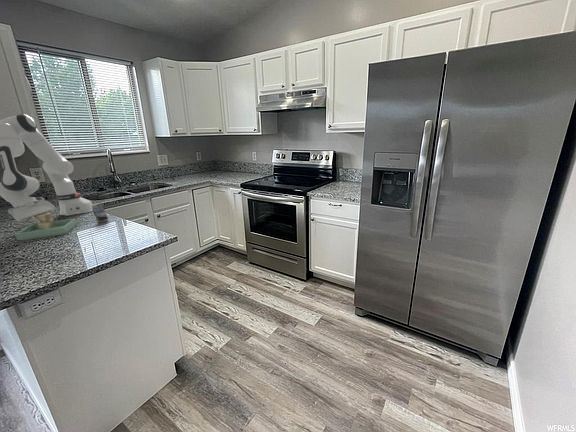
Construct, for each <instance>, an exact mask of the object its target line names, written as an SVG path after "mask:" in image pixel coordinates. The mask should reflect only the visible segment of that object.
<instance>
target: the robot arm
mask: <svg viewBox="0 0 576 432" xmlns="http://www.w3.org/2000/svg"><path fill="white" fill-rule="evenodd" d="M37 128H38V126H37V123H36V121H35V120H34V118H33V117H31V116H29V115H28V114H25V113H23V114H20V113H19V114H17V115H12V116H8V117H5V118H3V119H0V175H1V177H0V197H1V198H2V199H4V200H5V201H6V202H7V203H10V204H11V206H12V208H8V209H7V213H9V214H10V215H11V216H12V218H14V219H15V221H17V222H18V223H23V222H27V221H32V222H35V223H36V224H37V223H38V224H39V223H41V222H42V220H40V219H36V218H35V216H37V215H40V214H44V213H51V214H52V213H53V214H54V212H55V210H56V206H54V205H53V204H52V203H51V202H50V201H47V200H45V198H44V197H42V196H40V197H39V196H38V197H36V196H31V195H33V194H34V193H36V192H37V191H38V190H39V189H40V186H41V183H40V181H39V180H38V179H37V178H35V177H33V176H28V175H25V174H22V173H21V172H20V171H19V170H18V169H17V164H16V161H15V158H17V157H21V156H22V155H23V154H24V153H25V151H26V149H25V145H26V147H27V148H28V149H29V150H30V151H31V152H32V153H33V155H34V156H35V157H37V158H38V159H40V160H41V161H43V163H42V170H43V171H44V172H45V173H46V175H47V177H48V178H49V180H50V182H51V184H52V185H53V188H54V191H55V194H56V197H55V198H56V200H57V202H58V203H59V204H58V205H59V214H60V216H66V217H67V216H74V215H78V214H85V213H91V212H93V210H92V205H94V204H93V202H92V201H91V200H89V199H86V198H84V197H82V196H81V193H80V192H77V190H76V188H75V185H74V182H73V180H71V178H70V177H69V175H70V174H72V173H73V172H74V169H75V168H74V167H75V166H74V165H73V163H71V162H70V161H69V160H67V159H66V158H65V157H64V156H63V155H62V154H61V153H60V152H58V151H57V150H56V149H55V148H54V147H53V145H52V144H51V142H49V141H48V140H47V138H46V137H45V136H44V135H43V133H41V131H39V130H38V129H37ZM52 218H53V219H54V217H53V216H52Z"/></svg>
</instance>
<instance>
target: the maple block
mask: <svg viewBox="0 0 576 432" xmlns="http://www.w3.org/2000/svg"><path fill="white" fill-rule="evenodd" d="M52 217H53V215H52V213H44V214H40V215H37V216H35V218H36V219H40V220H42V222H41V223H39V224H38V226H39V229H49V228H52V227H54V226H55V224H54V221H55V220H54V217H53V218H52Z"/></svg>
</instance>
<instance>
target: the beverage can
mask: <svg viewBox="0 0 576 432" xmlns="http://www.w3.org/2000/svg"><path fill="white" fill-rule="evenodd" d="M92 210H93V211H92V212H93V215H94V217H95V219H96V222H98V223H102V222H105V221H108V216H107V215H108V214H107V213H106V210H105V208H104V205H103V204H102V202H99V203H95V204H93V205H92Z"/></svg>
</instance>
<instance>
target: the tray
mask: <svg viewBox="0 0 576 432" xmlns="http://www.w3.org/2000/svg"><path fill="white" fill-rule="evenodd" d="M53 221H54V224H55V226H54V227H52V228H49V229H39V226H38V223H37V222H36V223H32V224H30V225H28V226H26V227H25V228H23V229H21V230H20V231H18V232H17V233H15V234H14V236H15V238H16V240H17V242H21V241H28V240H33V239H42V238H47V237H55V236H62V235H66V234H68V233H69V232H70V231H71V230H73V229H74V228H75V227H76V226H77V225H78V223H77V220H76V218H69V219H62V220H53Z"/></svg>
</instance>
